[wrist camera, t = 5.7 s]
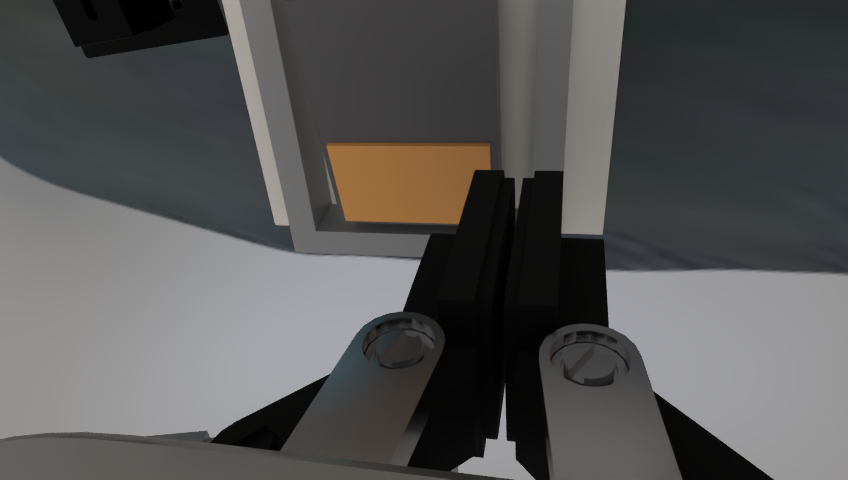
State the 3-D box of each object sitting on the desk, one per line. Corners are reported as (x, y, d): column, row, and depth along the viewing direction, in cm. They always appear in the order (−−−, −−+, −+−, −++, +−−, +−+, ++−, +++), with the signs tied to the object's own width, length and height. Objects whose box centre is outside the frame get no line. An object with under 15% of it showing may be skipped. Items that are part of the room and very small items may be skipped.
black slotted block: (215, -98, 31) (170, -88, 28) (261, 45, 35) (227, 71, 31) (18, -54, 34) (-47, -39, 31) (80, 73, 38) (29, 100, 34)
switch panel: (616, -129, 27) (647, -111, 19) (592, 158, 35) (606, 266, 26) (277, -104, 30) (168, -78, 22) (323, 156, 38) (255, 252, 29)
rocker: (497, -27, 20) (493, -5, 19) (502, 203, 27) (499, 230, 26) (296, -18, 21) (280, 3, 20) (349, 200, 28) (340, 225, 27)
